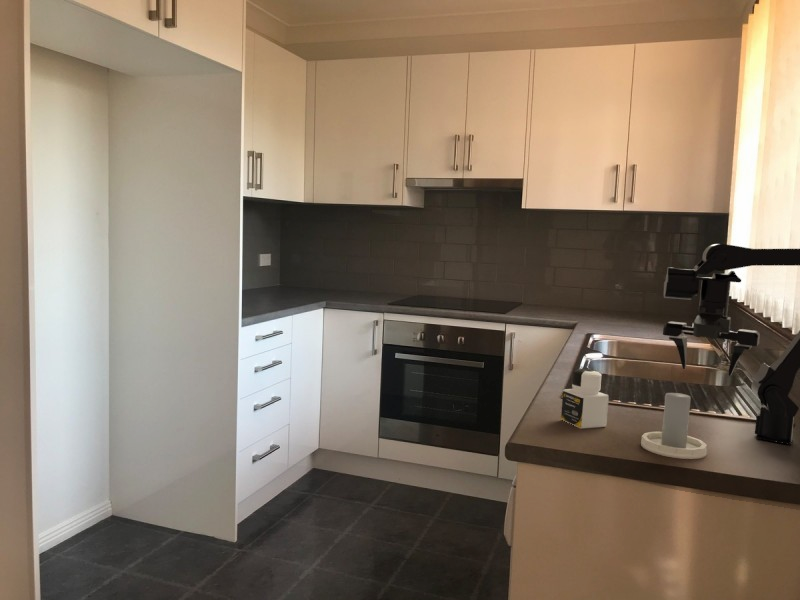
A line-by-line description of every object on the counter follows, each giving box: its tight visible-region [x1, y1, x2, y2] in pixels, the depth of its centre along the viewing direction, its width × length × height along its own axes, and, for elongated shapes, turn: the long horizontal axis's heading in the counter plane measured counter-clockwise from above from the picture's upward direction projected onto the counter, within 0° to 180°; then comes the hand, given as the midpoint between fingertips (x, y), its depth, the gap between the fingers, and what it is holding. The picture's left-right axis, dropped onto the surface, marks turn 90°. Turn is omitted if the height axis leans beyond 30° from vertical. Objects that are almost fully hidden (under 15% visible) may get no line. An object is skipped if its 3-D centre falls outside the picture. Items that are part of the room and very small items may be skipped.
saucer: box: [640, 431, 708, 460], centre depth 133 cm, size 12×12×2 cm
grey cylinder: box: [661, 392, 692, 448], centre depth 132 cm, size 5×5×10 cm
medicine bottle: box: [560, 368, 609, 429], centre depth 148 cm, size 7×7×12 cm
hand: (706, 372), depth 147 cm, fingers open, 9 cm apart
